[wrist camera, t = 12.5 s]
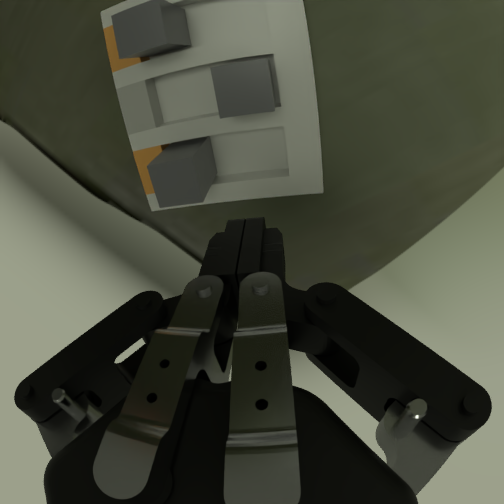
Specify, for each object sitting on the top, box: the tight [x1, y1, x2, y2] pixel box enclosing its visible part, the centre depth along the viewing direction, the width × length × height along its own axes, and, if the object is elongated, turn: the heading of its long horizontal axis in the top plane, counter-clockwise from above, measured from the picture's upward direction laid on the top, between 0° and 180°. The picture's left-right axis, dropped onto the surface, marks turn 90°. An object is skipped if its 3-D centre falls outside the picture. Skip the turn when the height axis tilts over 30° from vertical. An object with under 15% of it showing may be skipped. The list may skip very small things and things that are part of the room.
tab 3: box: [210, 59, 275, 119], centre depth 19 cm, size 4×4×6 cm
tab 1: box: [111, 0, 191, 59], centre depth 17 cm, size 4×4×6 cm
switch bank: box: [101, 0, 323, 211], centre depth 22 cm, size 16×20×3 cm
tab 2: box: [147, 136, 217, 208], centre depth 24 cm, size 4×4×6 cm
